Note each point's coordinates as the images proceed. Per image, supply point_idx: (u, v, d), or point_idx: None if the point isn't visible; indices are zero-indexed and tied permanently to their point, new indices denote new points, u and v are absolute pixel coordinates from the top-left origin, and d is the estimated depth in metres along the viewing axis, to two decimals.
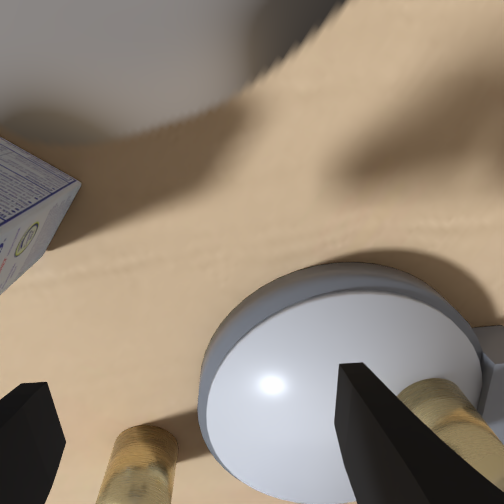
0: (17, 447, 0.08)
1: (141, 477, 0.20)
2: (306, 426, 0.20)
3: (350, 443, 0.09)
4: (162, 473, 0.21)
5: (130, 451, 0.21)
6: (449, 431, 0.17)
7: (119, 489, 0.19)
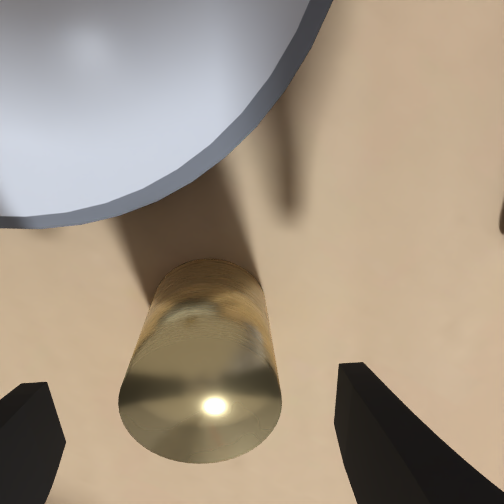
0: (17, 447, 0.08)
1: (131, 358, 0.10)
2: None
3: (350, 443, 0.09)
4: (159, 313, 0.10)
5: None
6: None
7: None
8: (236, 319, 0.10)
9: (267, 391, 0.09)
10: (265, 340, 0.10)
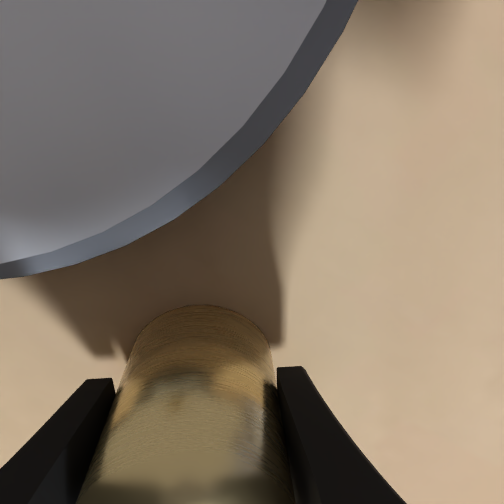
0: (92, 442, 0.08)
1: (92, 459, 0.07)
2: None
3: None
4: (130, 394, 0.08)
5: None
6: None
7: None
8: (235, 409, 0.07)
9: None
10: (274, 432, 0.07)
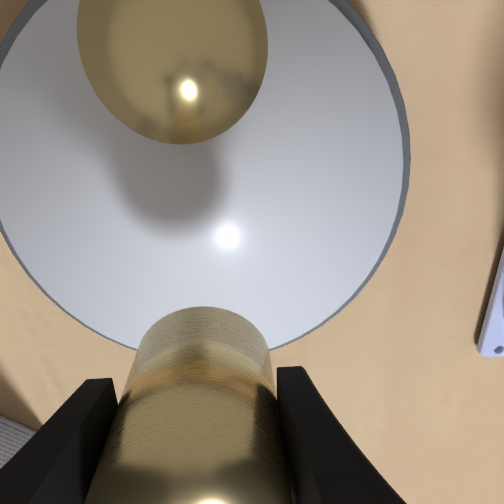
0: (92, 442, 0.08)
1: None
2: (221, 249, 0.15)
3: (284, 448, 0.09)
4: (134, 392, 0.08)
5: None
6: None
7: None
8: (228, 399, 0.08)
9: (273, 495, 0.07)
10: (267, 420, 0.08)
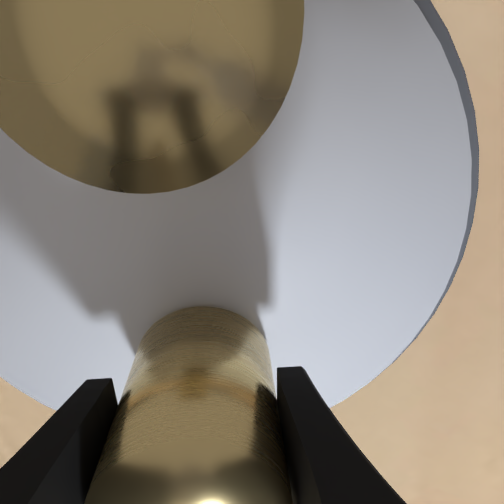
0: (92, 442, 0.08)
1: None
2: None
3: (284, 448, 0.09)
4: (134, 392, 0.08)
5: None
6: None
7: None
8: (228, 399, 0.08)
9: (273, 495, 0.07)
10: (267, 420, 0.08)
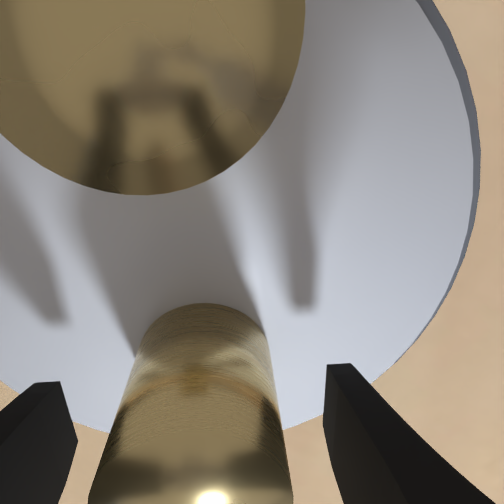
0: (32, 446, 0.08)
1: None
2: None
3: (337, 444, 0.09)
4: (136, 386, 0.08)
5: None
6: None
7: None
8: (229, 393, 0.08)
9: (274, 485, 0.07)
10: (268, 413, 0.08)
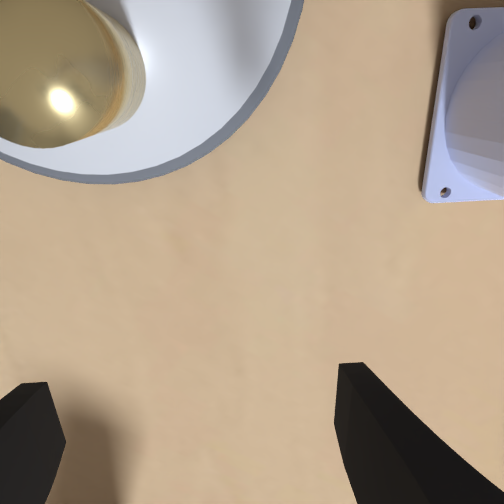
0: (17, 447, 0.08)
1: None
2: None
3: (350, 443, 0.09)
4: None
5: None
6: None
7: None
8: None
9: (87, 38, 0.09)
10: (98, 15, 0.10)
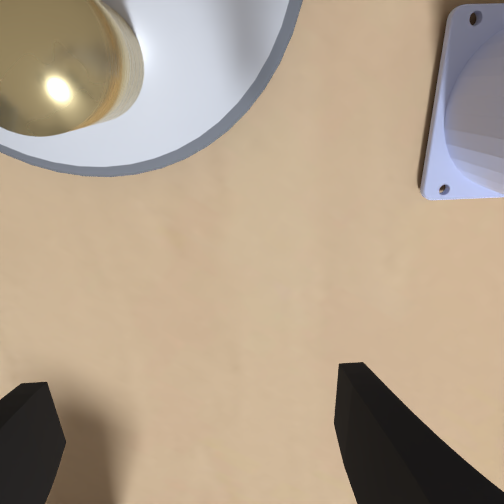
0: (17, 447, 0.08)
1: None
2: None
3: (350, 443, 0.09)
4: None
5: None
6: None
7: None
8: None
9: (84, 24, 0.09)
10: (95, 2, 0.10)
